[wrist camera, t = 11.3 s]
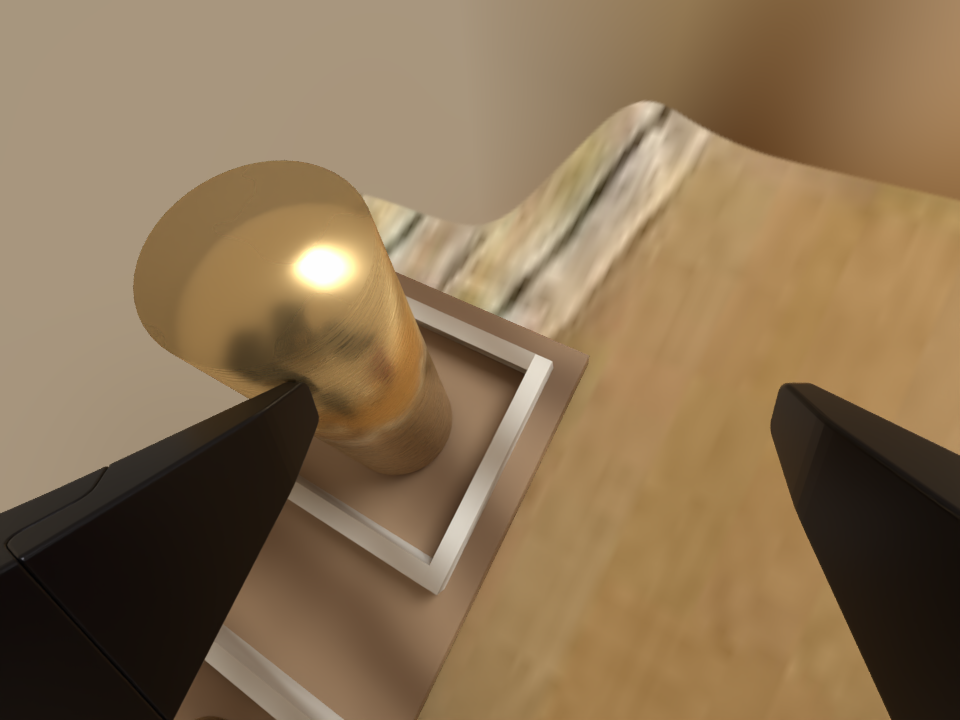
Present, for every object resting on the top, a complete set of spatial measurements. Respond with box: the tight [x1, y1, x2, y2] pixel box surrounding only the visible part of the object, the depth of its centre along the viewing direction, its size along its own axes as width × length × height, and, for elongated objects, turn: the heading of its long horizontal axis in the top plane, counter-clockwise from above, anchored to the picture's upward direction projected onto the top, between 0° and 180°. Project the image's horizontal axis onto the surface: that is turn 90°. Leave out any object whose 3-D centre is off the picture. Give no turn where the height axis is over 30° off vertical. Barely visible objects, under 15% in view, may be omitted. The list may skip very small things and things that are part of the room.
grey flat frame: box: [174, 272, 589, 720], centre depth 21 cm, size 30×13×3 cm, turn 152°
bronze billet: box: [133, 161, 453, 475], centre depth 16 cm, size 5×5×13 cm
